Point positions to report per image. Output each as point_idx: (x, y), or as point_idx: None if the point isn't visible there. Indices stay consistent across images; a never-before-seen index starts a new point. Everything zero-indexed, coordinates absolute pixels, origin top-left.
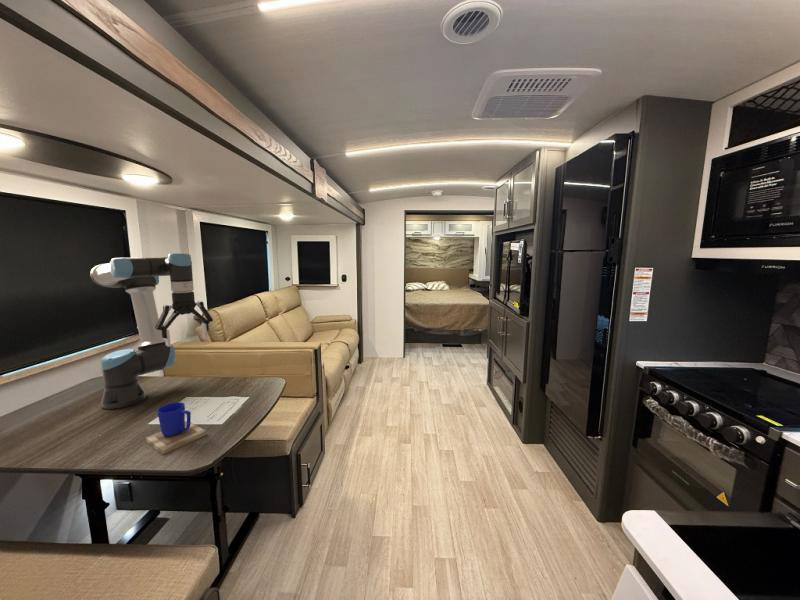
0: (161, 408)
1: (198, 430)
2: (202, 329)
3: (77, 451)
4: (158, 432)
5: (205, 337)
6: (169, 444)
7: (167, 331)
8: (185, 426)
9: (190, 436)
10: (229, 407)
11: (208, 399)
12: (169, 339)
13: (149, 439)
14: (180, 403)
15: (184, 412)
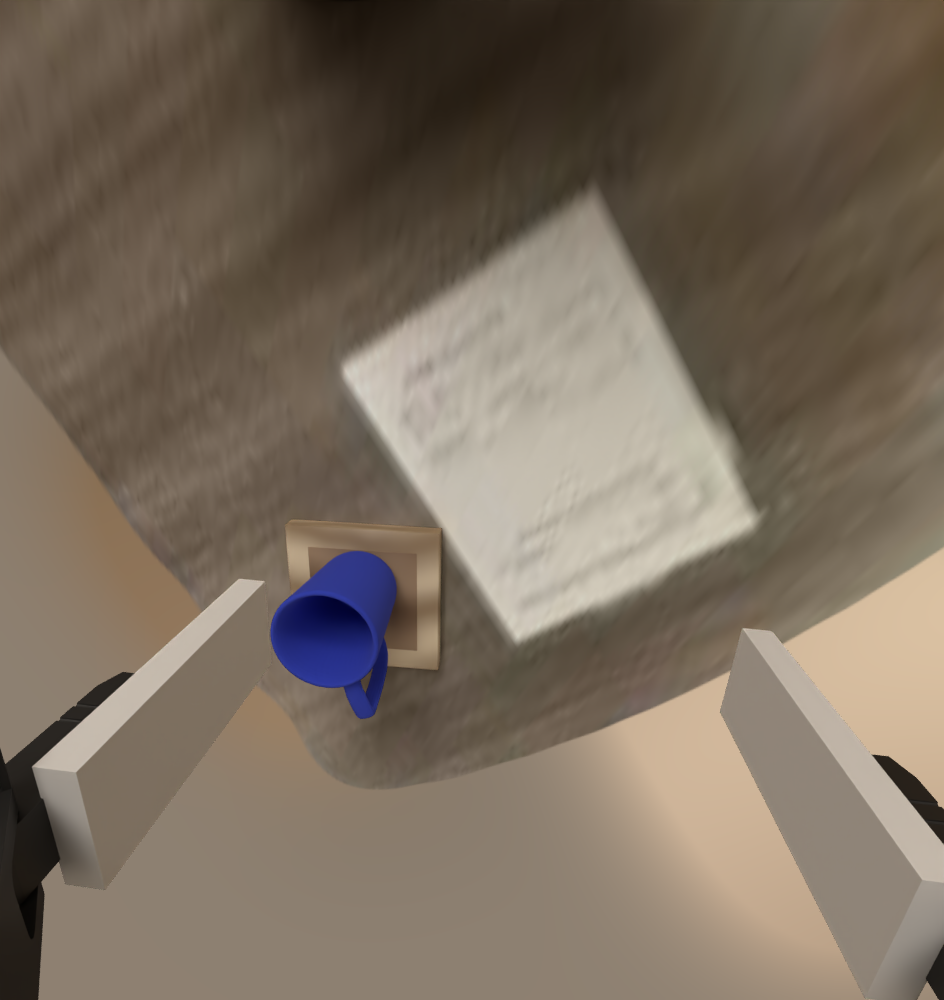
0: (297, 600)
1: (423, 644)
2: (814, 767)
3: (113, 373)
4: (327, 529)
5: (731, 730)
6: None
7: (88, 866)
8: (408, 575)
9: (388, 656)
10: (624, 542)
11: (633, 355)
12: (212, 731)
13: (290, 552)
14: (370, 630)
15: (352, 708)
